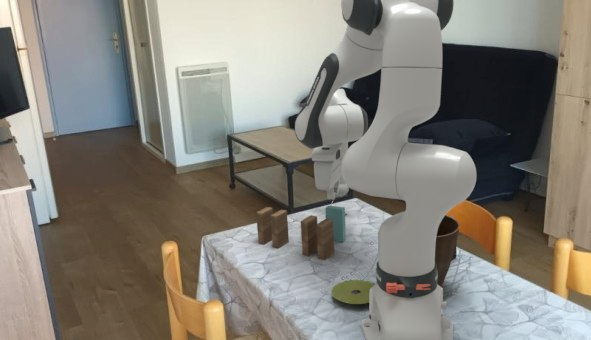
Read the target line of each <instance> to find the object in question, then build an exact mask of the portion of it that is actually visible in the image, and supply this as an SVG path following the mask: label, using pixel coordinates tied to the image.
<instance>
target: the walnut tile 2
mask: <svg viewBox="0 0 591 340" xmlns="http://www.w3.org/2000/svg"><path fill="white" fill-rule="evenodd" d="M270 216H271V230H272V243H271V244H272V248H275V249H280V248H282V247H283V246H285V245H287V244H288V243H290V241H289V239H290V238H289V225H288V222H289V219H288V210H287V209H286V210H285V209H280V210H278V211H275V212H273V214H272V215H270Z"/></svg>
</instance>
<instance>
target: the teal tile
mask: <svg viewBox="0 0 591 340" xmlns="http://www.w3.org/2000/svg"><path fill="white" fill-rule="evenodd" d="M345 208H346V207H345V206H337V205H335V206H334V205H331V206H330V205H327V206H326V207H325V208H324V209H325V219H326V218H328V219H333V232H334V243H335V242H336V243H341V244H343V243H344V242H346V239H347V238H346V215H345V214H346V209H345Z"/></svg>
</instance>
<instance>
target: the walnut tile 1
mask: <svg viewBox="0 0 591 340" xmlns="http://www.w3.org/2000/svg"><path fill="white" fill-rule="evenodd" d="M273 209H274V208H273V207H271V206H269V207H268V206H266V207H263V208H262V209H260V210H258V211H256V212H255V215H256V228H257V229H256V230H257V241H258V245H263V246H265V245H266V244H268V243H270V242H271V241H272V230H271V216H270V215H272V214H274V210H273Z"/></svg>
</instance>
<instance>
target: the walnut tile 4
mask: <svg viewBox="0 0 591 340" xmlns="http://www.w3.org/2000/svg"><path fill="white" fill-rule="evenodd" d="M316 224H318V216H317V215H313V214H311V215H309V216H307V217H305V218H304V219H302V220H301V221H300V235H301V237H300V238H301V251H302V252H301V253H302V255H303V256H306V257H310V256H311V255H313V254H314V253H315V252H318V246H317V225H316Z"/></svg>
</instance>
